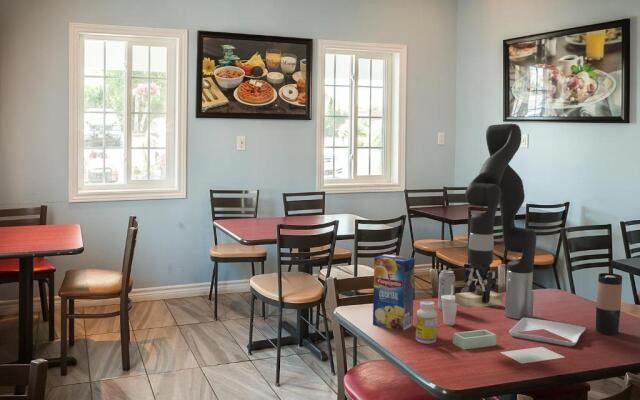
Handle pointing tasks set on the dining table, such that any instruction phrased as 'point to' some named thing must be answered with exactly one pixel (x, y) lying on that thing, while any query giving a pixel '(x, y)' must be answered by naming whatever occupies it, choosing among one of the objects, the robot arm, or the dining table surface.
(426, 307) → the supplement bottle
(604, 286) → the travel mug
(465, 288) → the perforated stone tool
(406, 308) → the juice carton
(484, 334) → the dish
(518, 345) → the dining table surface
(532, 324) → the salad plate
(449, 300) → the smoothie
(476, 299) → the lid
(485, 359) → the dining table surface
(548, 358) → the mat
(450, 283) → the energy drink can
